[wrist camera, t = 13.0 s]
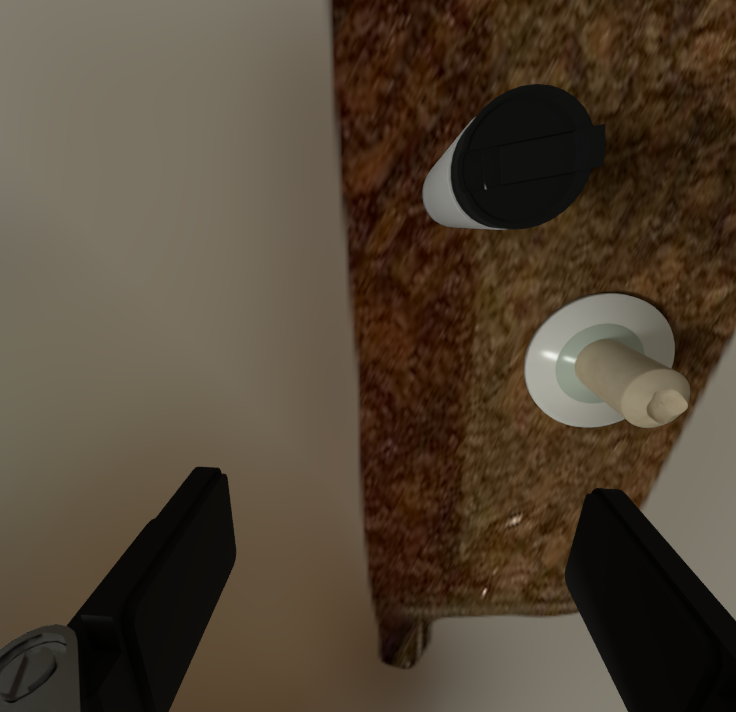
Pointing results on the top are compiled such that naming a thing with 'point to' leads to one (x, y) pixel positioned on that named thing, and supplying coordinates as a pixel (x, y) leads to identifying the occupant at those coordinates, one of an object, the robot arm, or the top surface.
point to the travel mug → (516, 162)
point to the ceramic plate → (572, 334)
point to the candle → (632, 383)
